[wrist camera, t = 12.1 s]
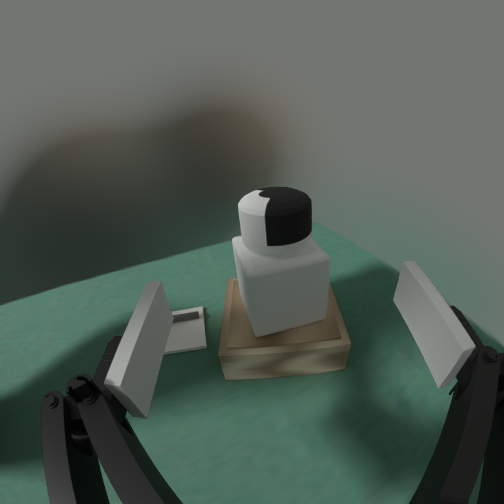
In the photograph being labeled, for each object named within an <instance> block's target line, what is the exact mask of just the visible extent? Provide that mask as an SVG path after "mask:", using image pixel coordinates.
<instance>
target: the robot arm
mask: <svg viewBox="0 0 504 504" xmlns="http://www.w3.org/2000/svg"><path fill="white" fill-rule="evenodd" d="M393 301H394V303H395V304H396V306H397V308H398V310H399V311H400V313H401V315H402V317H403V319H404V320H405V322H406V324H407V326H408V328H409V330H410V331H411V333H412V335H413V337H414V339H415V341H416V343H417V345H418V347H419V349H420V351H421V353H422V355H423V357H424V359H425V361H426V363H427V365H428V367H429V369H430V371H431V373H432V376H433V378H434V380H435V382H436V384H437V387H438V388H441V387H444V386H446V385H449V384H451V382H452V381H453V379H454V378H455V377H456V378H457V380H458V382H457V383H456V384H455V386H454V387H453V388H452V390H451V391H450V393H449V395H451V394H452V392H453V391H454V393H453V397H452V400H451V404H450V408H449V411H448V414H447V417H446V421H445V424H444V427H443V430H442V432H441V435H440V438H439V441H438V443H437V446H436V448H435V451H434V453H433V456H432V458H431V461H430V463H429V465H428V467H427V470H426V472H425V474H424V476H423V478H422V480H421V482H420V484H419V486H418V488H417V490H416V492H415V494H414V496H413V497H412V499H411V501H410V503H409V504H468V500H469V497H470V495H471V492H472V490H473V487H474V485H475V482H476V479H477V476H478V473H479V470H480V467H481V464H482V461H483V457H484V465H483V473H482V480H481V486H480V491H479V497H478V501H477V504H504V353H497V351H496V350H495V349H494V348H492V347H490V346H484V345H483V344H482V342H481V341H480V339H479V337H478V336H477V334H476V333H475V331H474V330H473V328H472V327H471V326H470V324H469V323H468V321H467V320H466V318H465V317H464V315H463V314H462V313H461V311H459V310H458V309H457V308H456V307H454V306H450V307H449V305H448V304H447V303H446V301H445V300H444V298H443V297H442V296H441V294H440V293H439V292H438V290H437V289H436V288H435V287H434V285H433V284H432V283H431V281H430V280H429V279H428V277H427V276H426V275H425V274H424V273H423V271H422V270H421V269H420V268H419V266H418V265H417V264H416V263H415V261H404V262H403V263H402V267H401V271H400V275H399V279H398V283H397V287H396V291H395V295H394V298H393ZM173 320H174V318H173V315H172V312H171V309H170V306H169V303H168V301H167V298H166V295H165V292H164V289H163V286H162V282H161V281H148V283H147V285H146V287H145V289H144V291H143V293H142V295H141V297H140V299H139V301H138V304H137V306H136V308H135V310H134V312H133V314H132V317H131V319H130V321H129V323H128V326H127V328H126V330H125V332H124V335H123V336H115V337H114V338H113V339H112V340H111V341H110V342H109V343H108V345H107V347H106V350H105V354H103V357H102V360H101V361H100V363H99V366H98V368H97V371H96V373H95V375H94V378H93V380H92V379H91V378H90V377H89V376H88V375H86V374H78V375H75V376H74V377H72V378H71V379H70V381H69V382H68V384H67V387H66V392H67V394H68V395H69V396H65V397H64V396H63V395H62V394H61V393H60V392H58V391H50V392H48V393H47V394H46V395H45V396H44V398H43V399H42V405H41V429H42V450H43V461H44V470H45V478H46V485H47V491H48V496H49V502H50V504H110V503H109V500H108V496H107V493H106V489H105V486H104V482H103V478H102V474H101V470H100V465H99V461H98V458H99V460H100V463H101V465H102V467H103V469H104V471H105V473H106V475H107V477H108V479H109V480H110V482H111V484H112V486H113V488H114V490H115V491H116V493H117V495H118V497H119V498H120V500H121V502H122V503H123V504H183V503H182V502H181V501H180V499H179V498H178V497H177V496H176V494H175V493H174V492H173V490H172V489H171V488H170V486H169V485H168V484H167V482H166V481H165V480H164V478H163V477H162V475H161V474H160V472H159V471H158V469H157V468H156V467H155V465H154V464H153V462H152V460H151V459H150V457H149V456H148V454H147V453H146V451H145V449H144V448H143V446H142V444H141V443H140V441H139V439H138V438H137V436H136V434H135V433H134V431H133V429H132V427H131V425H130V424H129V422H128V420H127V419H126V418H125V416H126V412H127V411H128V412H129V413H130V415H131V416H133V417H139V418H146V419H147V418H148V413H149V409H150V405H151V401H152V397H153V392H154V389H155V385H156V381H157V377H158V373H159V369H160V365H161V362H162V358H163V354H164V351H165V347H166V344H167V340H168V337H169V333H170V330H171V326H172V323H173ZM484 454H485V455H484Z"/></svg>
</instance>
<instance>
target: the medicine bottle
mask: <svg viewBox="0 0 504 504" xmlns="http://www.w3.org/2000/svg"><path fill="white" fill-rule="evenodd" d="M311 206H312V204H311V199H310V198H309V196H308V195H307V194H305V193H304V192H302V191H299V190H296V189H293V188H288V187H268V188H263V189H259V190H255V191H253V192H251V193H249V194H247V195H246V196H244V197H243V198H242V199H241V201H240V202H239V204H238V209H239V218H240V225H241V234H242V236H238V237H234V238H233V240H232V244H233V250H234V257H235V264H236V270H237V277H238V283H239V289H240V295H241V297H242V300H243V303H244V306H245V309H246V312H247V315H248V318H249V321H250V323H251V326H252V329H253V332H254V335H255V336H256V337H261V336H265V335H269V334H273V333H276V332H280V331H284V330H288V329H291V328H295V327H299V326H302V325H306V324H309V323H312V322H316V321H319V320H322V319H325V317H326V310H327V299H328V288H329V274H330V257H329V256H328V255H327V253H326V252H325V251H324V250H323V249H322V248H321V247H320V246H319V245H318V244H317V243H316V242H315V241H314V240H313V239H312V207H311Z"/></svg>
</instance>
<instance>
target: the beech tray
mask: <svg viewBox="0 0 504 504" xmlns="http://www.w3.org/2000/svg"><path fill="white" fill-rule="evenodd" d="M350 348H351V341H350V338H349V335H348V332H347V329H346V326H345V323H344V321H343V318H342V315H341V312H340V309H339V306H338V304H337V301H336V298H335V295H334V293H333V290H332V287H331V285H330V282H329V288H328V299H327V310H326V317H325V319H322V320H319V321H316V322H312V323H309V324H306V325H302V326H299V327H295V328H291V329H288V330H284V331H280V332H276V333H273V334H269V335H265V336H261V337H256V336H255V335H254V332H253V329H252V326H251V323H250V321H249V318H248V315H247V312H246V309H245V306H244V303H243V300H242V297H241V295H240V289H239V283H238V278H233V279H228V280H227V288H226V296H225V304H224V312H223V320H222V328H221V336H220V344H219V353H218V357H219V360H220V364H221V367H222V370H223V373H224V376H225V380H240V379H262V378H276V377H288V376H298V375H307V374H315V373H323V372H330V371H337V370H343V369H345V368H346V364H347V360H348V356H349V352H350Z"/></svg>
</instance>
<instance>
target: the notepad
mask: <svg viewBox="0 0 504 504" xmlns="http://www.w3.org/2000/svg"><path fill="white" fill-rule="evenodd" d="M172 315H173V318H174V320H173V323H172V326H171V330H170V333H169V337H168V340H167V344H166V347H165V351H164V354H163V355H166V354H173V353H180V352H186V351H193V350H199V349H205V348H207V342H206V333H205V323H204V313H203V307H197V308H191V309H185V310H179V311H174V312H172Z"/></svg>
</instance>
